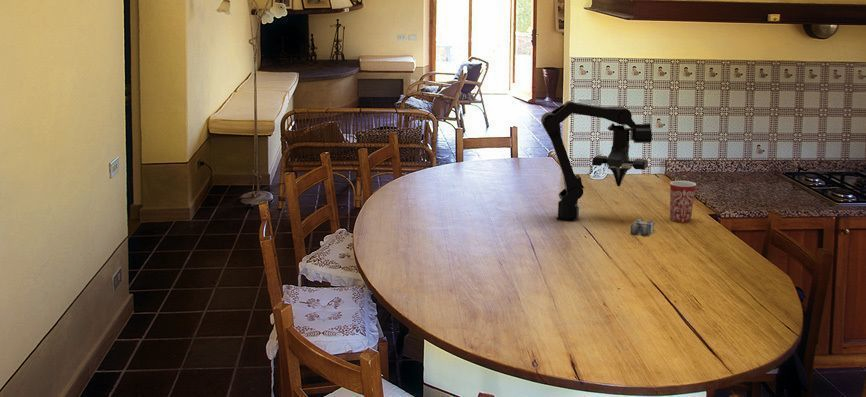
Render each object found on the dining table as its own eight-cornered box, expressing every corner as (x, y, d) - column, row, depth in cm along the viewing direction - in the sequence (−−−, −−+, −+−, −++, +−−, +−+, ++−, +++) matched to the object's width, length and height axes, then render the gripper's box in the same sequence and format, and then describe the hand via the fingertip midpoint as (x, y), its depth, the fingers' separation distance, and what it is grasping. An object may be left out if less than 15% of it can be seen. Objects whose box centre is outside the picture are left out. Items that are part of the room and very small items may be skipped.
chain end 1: (629, 234, 296) (630, 224, 295) (636, 227, 304) (637, 218, 303) (637, 235, 295) (637, 225, 294) (643, 228, 303) (644, 219, 302)
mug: (696, 223, 310) (698, 186, 306) (670, 223, 310) (672, 185, 307) (688, 214, 322) (691, 178, 319) (663, 214, 322) (665, 178, 319)
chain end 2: (640, 235, 294) (640, 225, 294) (646, 229, 302) (647, 219, 301) (647, 236, 293) (648, 226, 292) (654, 230, 301) (654, 220, 300)
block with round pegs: (632, 232, 299) (633, 220, 298) (635, 230, 302) (636, 218, 301) (650, 234, 296) (651, 222, 295) (653, 232, 299) (653, 220, 298)
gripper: (588, 144, 307) (586, 188, 311) (641, 148, 299) (639, 193, 302) (597, 139, 317) (595, 182, 320) (649, 143, 308) (647, 187, 312)
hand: (618, 186), depth 313 cm, fingers closed
